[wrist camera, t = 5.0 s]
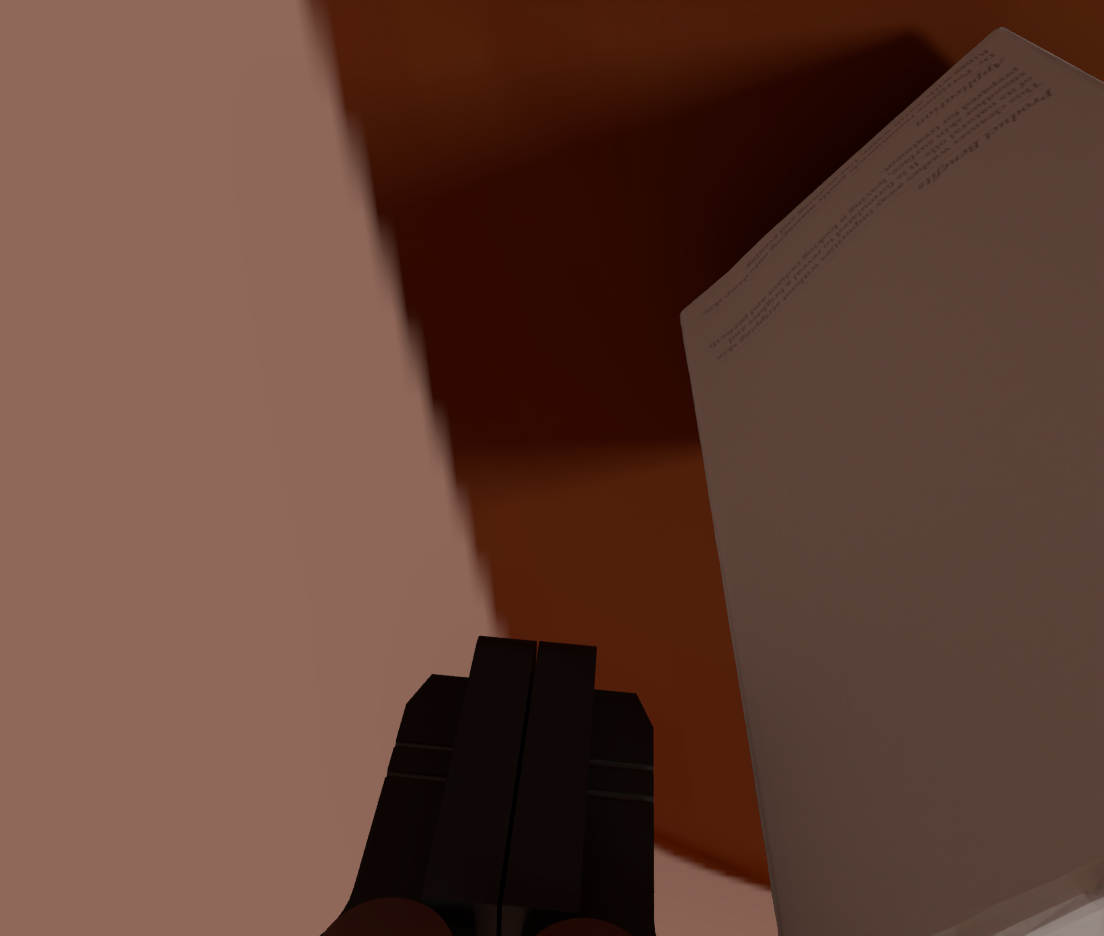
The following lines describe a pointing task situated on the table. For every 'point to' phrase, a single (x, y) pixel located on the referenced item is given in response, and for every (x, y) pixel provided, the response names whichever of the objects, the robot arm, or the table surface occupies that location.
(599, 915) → the robot arm
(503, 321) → the table surface
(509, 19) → the table surface
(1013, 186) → the skincare box
